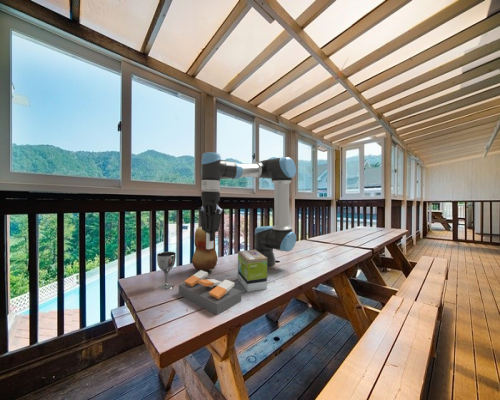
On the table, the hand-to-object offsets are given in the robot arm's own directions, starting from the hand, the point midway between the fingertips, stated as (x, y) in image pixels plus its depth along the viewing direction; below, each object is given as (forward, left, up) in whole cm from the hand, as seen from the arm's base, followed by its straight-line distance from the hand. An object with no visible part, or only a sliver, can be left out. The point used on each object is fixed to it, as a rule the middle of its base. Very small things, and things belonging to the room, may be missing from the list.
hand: (209, 248), depth 85 cm
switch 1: (0, -8, -15) cm, 17 cm away
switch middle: (0, 0, -15) cm, 15 cm away
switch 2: (0, +8, -15) cm, 17 cm away
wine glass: (+6, -23, -21) cm, 31 cm away
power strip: (-4, 0, -20) cm, 21 cm away
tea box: (-22, +5, -21) cm, 31 cm away
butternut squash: (-18, -25, -21) cm, 37 cm away
